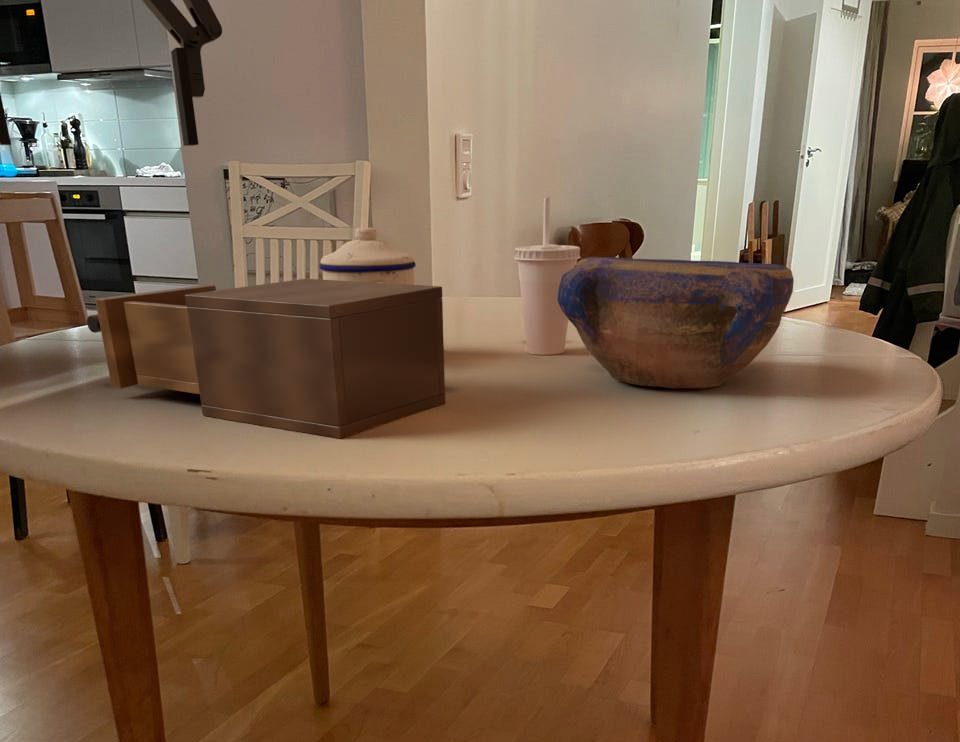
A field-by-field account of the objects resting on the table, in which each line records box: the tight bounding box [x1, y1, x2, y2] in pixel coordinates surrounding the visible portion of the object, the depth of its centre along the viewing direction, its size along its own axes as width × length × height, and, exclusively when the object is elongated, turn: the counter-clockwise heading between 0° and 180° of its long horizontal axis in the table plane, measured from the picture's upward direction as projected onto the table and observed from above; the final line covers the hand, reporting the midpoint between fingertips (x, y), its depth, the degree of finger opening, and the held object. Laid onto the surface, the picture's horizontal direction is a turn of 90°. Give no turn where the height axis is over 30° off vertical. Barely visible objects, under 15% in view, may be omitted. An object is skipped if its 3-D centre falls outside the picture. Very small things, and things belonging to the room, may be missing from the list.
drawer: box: [86, 284, 222, 395], centre depth 76 cm, size 18×11×7 cm, turn 57°
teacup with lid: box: [319, 227, 417, 285], centre depth 87 cm, size 12×9×12 cm
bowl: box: [557, 256, 795, 390], centre depth 77 cm, size 18×18×10 cm
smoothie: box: [513, 196, 582, 356], centre depth 89 cm, size 6×6×14 cm
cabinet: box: [185, 278, 446, 439], centre depth 69 cm, size 14×13×9 cm
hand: (101, 145), depth 71 cm, fingers open, 13 cm apart
